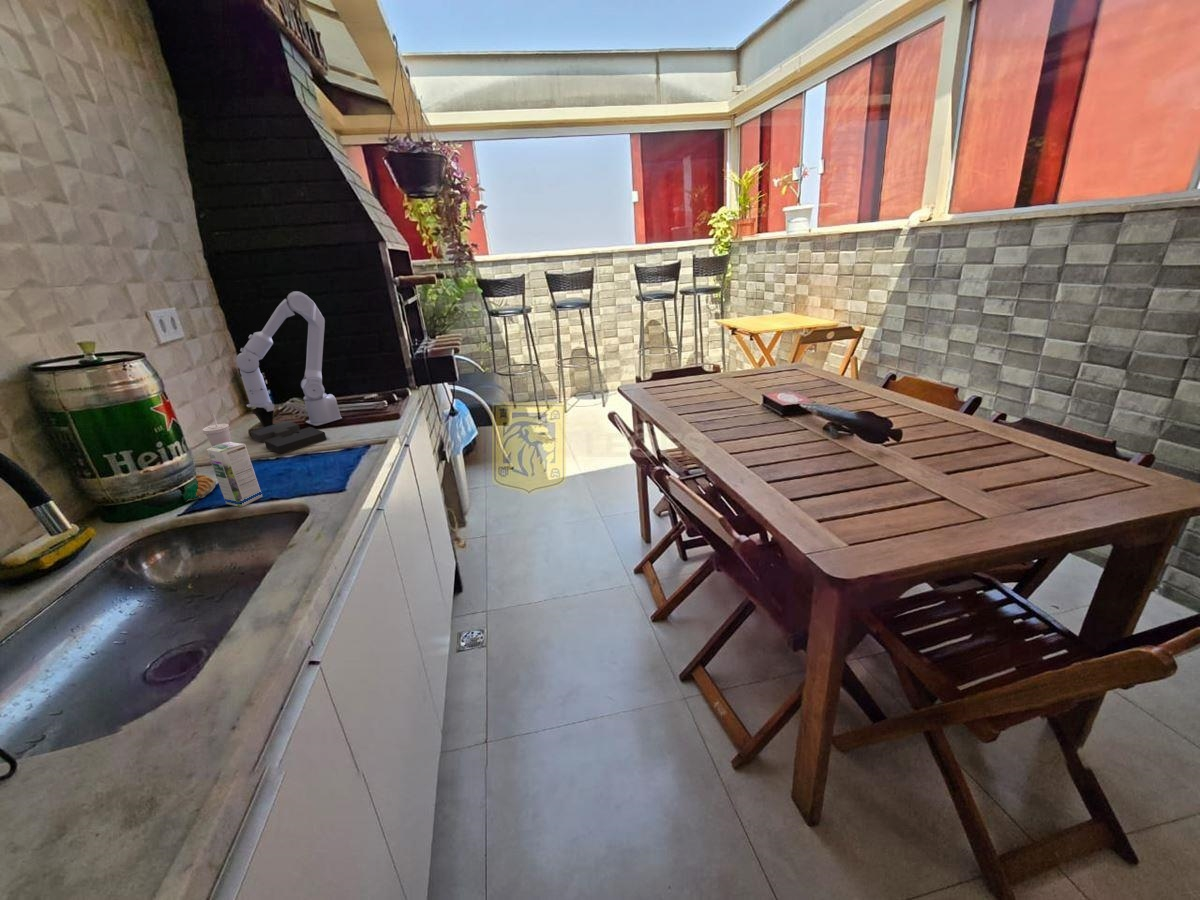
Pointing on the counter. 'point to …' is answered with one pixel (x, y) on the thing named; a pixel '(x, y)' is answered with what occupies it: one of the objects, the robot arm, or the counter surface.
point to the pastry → (204, 486)
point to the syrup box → (234, 472)
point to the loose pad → (275, 431)
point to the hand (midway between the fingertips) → (268, 428)
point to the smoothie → (217, 433)
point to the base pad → (295, 440)
